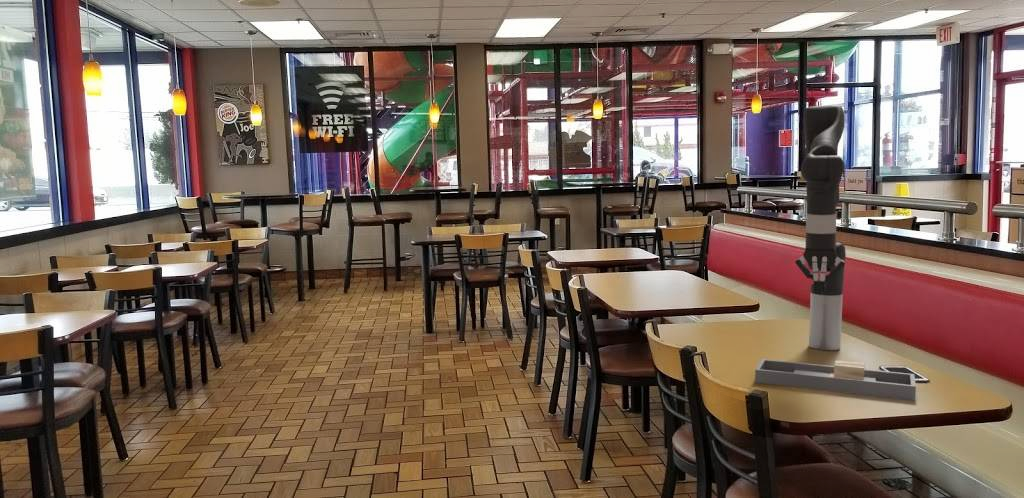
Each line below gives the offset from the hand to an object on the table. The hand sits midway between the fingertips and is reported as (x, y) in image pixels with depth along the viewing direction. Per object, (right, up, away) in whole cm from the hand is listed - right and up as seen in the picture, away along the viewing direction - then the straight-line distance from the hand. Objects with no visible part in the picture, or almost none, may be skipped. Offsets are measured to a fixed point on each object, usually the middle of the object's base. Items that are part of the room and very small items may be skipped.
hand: (819, 294), depth 210 cm
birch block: (+5, -22, -8) cm, 24 cm away
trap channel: (+1, -24, -6) cm, 24 cm away
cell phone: (+24, -23, +3) cm, 33 cm away
